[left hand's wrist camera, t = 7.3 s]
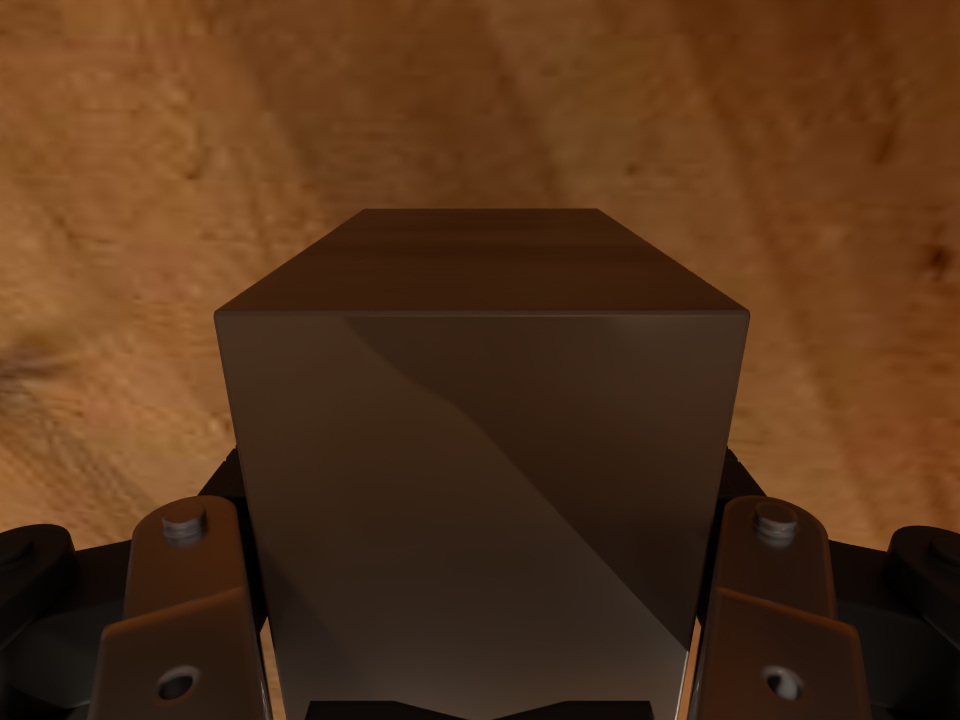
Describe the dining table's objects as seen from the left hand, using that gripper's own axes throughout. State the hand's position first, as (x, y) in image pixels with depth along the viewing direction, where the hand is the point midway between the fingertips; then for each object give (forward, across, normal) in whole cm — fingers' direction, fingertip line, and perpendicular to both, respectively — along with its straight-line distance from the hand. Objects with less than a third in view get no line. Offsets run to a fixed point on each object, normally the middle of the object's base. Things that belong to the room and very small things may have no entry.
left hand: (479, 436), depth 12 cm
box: (+5, 0, +7) cm, 8 cm away
